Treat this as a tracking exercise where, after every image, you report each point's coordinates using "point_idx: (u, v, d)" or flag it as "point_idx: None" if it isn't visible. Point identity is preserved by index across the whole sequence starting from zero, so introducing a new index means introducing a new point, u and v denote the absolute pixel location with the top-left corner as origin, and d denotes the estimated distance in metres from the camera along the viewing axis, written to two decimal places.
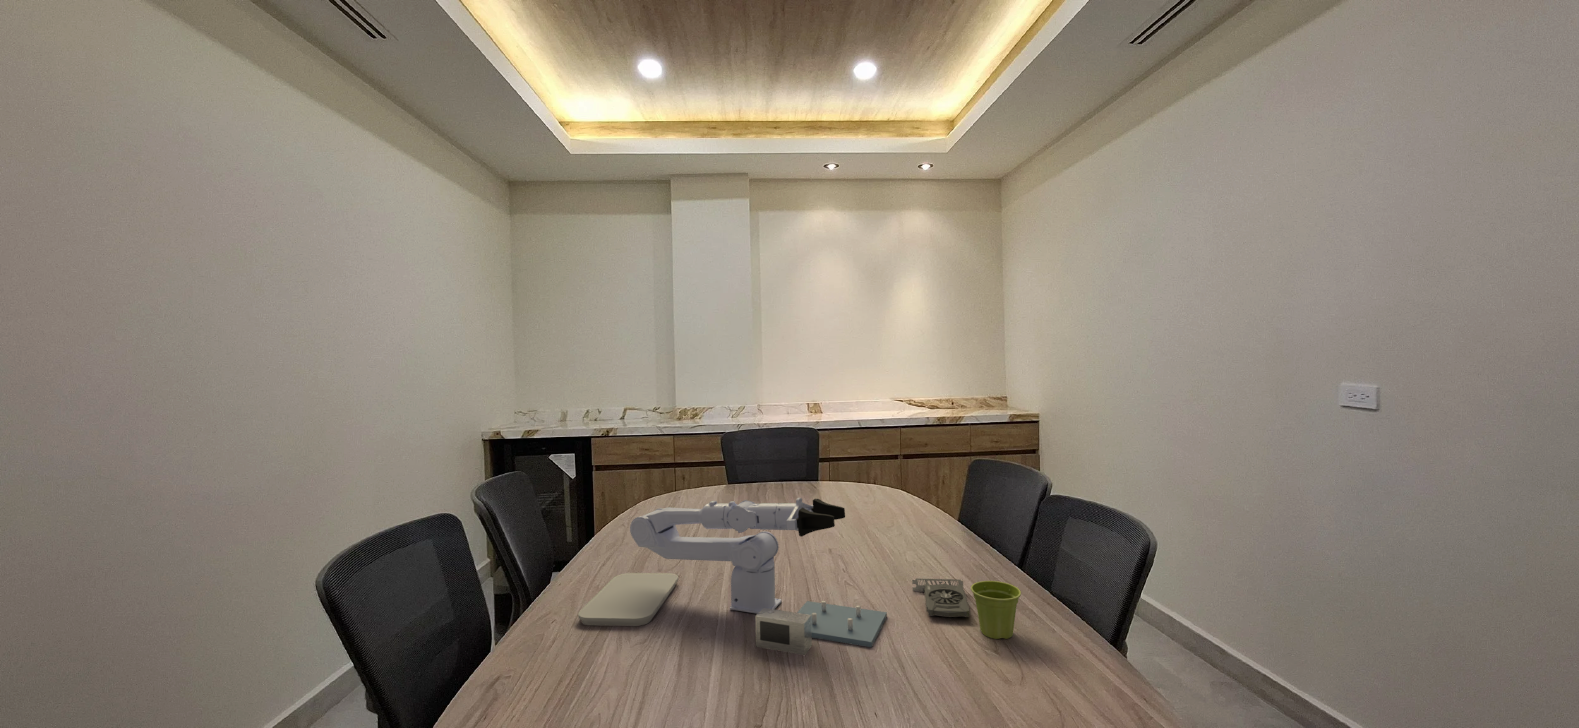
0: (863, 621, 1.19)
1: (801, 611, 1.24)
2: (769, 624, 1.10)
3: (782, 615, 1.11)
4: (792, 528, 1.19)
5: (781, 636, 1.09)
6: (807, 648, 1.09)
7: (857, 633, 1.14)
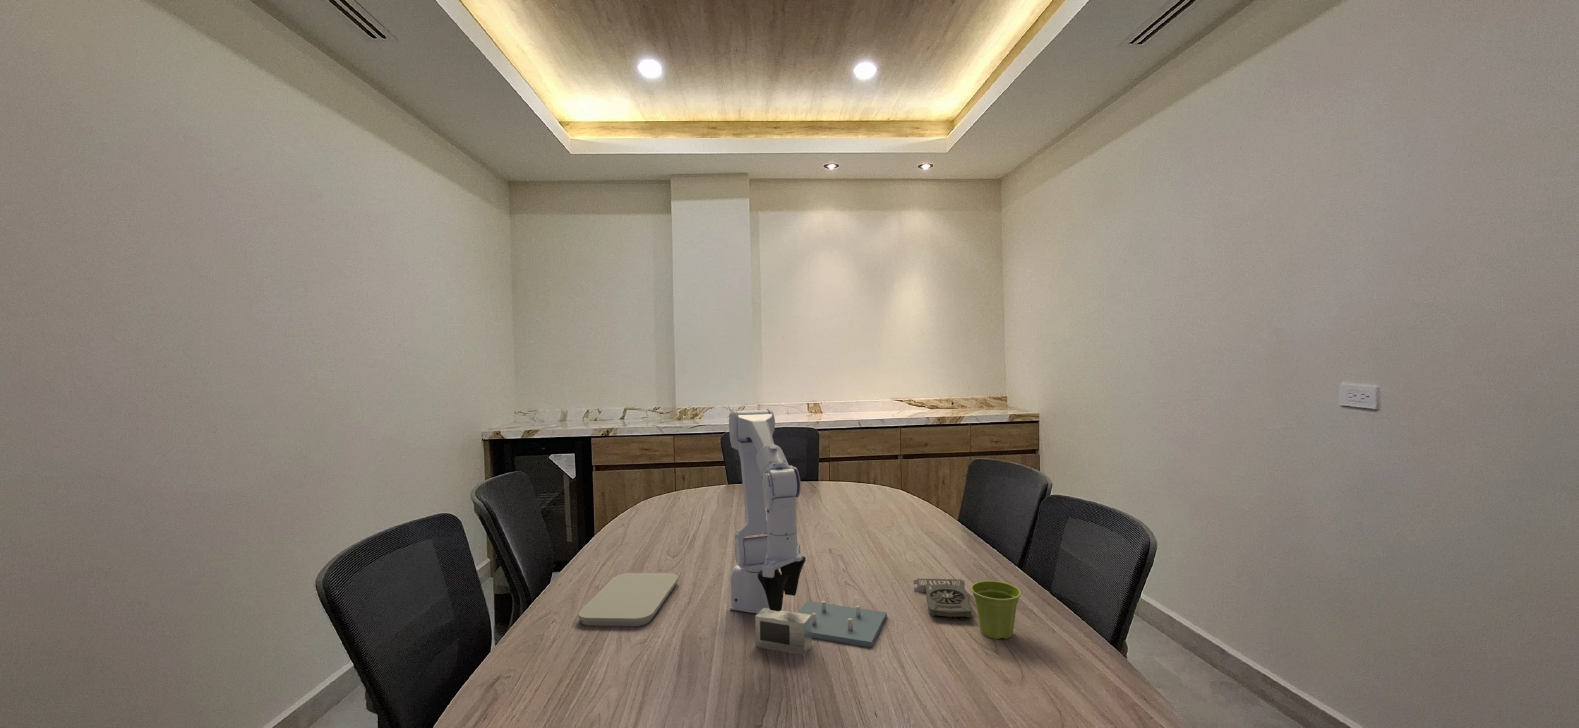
0: (863, 621, 1.19)
1: (801, 611, 1.24)
2: (769, 625, 1.10)
3: (782, 615, 1.11)
4: (764, 573, 1.05)
5: (781, 636, 1.09)
6: (807, 648, 1.09)
7: (857, 633, 1.14)
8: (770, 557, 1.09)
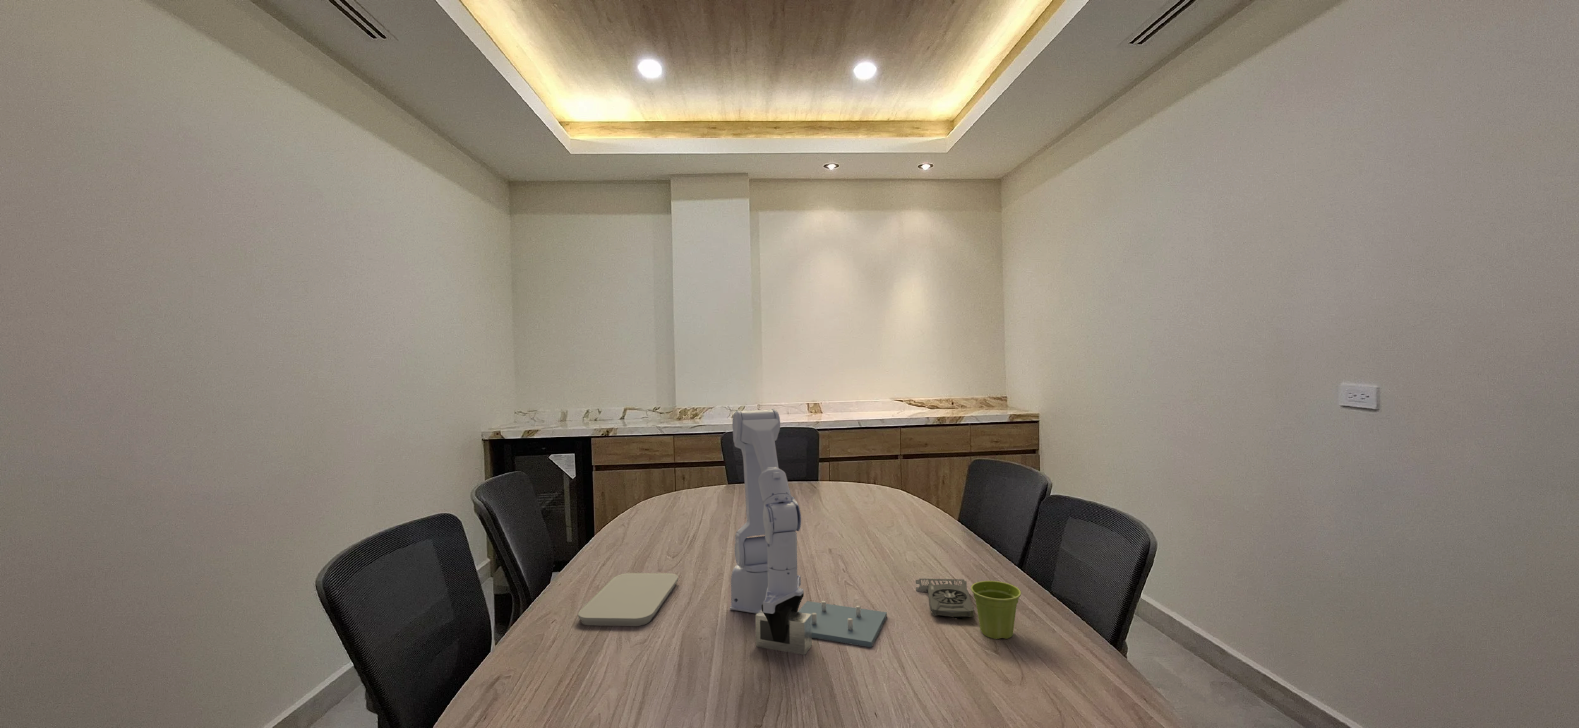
0: (863, 621, 1.19)
1: (801, 611, 1.24)
2: None
3: None
4: (764, 609, 1.05)
5: None
6: (807, 647, 1.09)
7: (857, 633, 1.14)
8: (771, 591, 1.09)
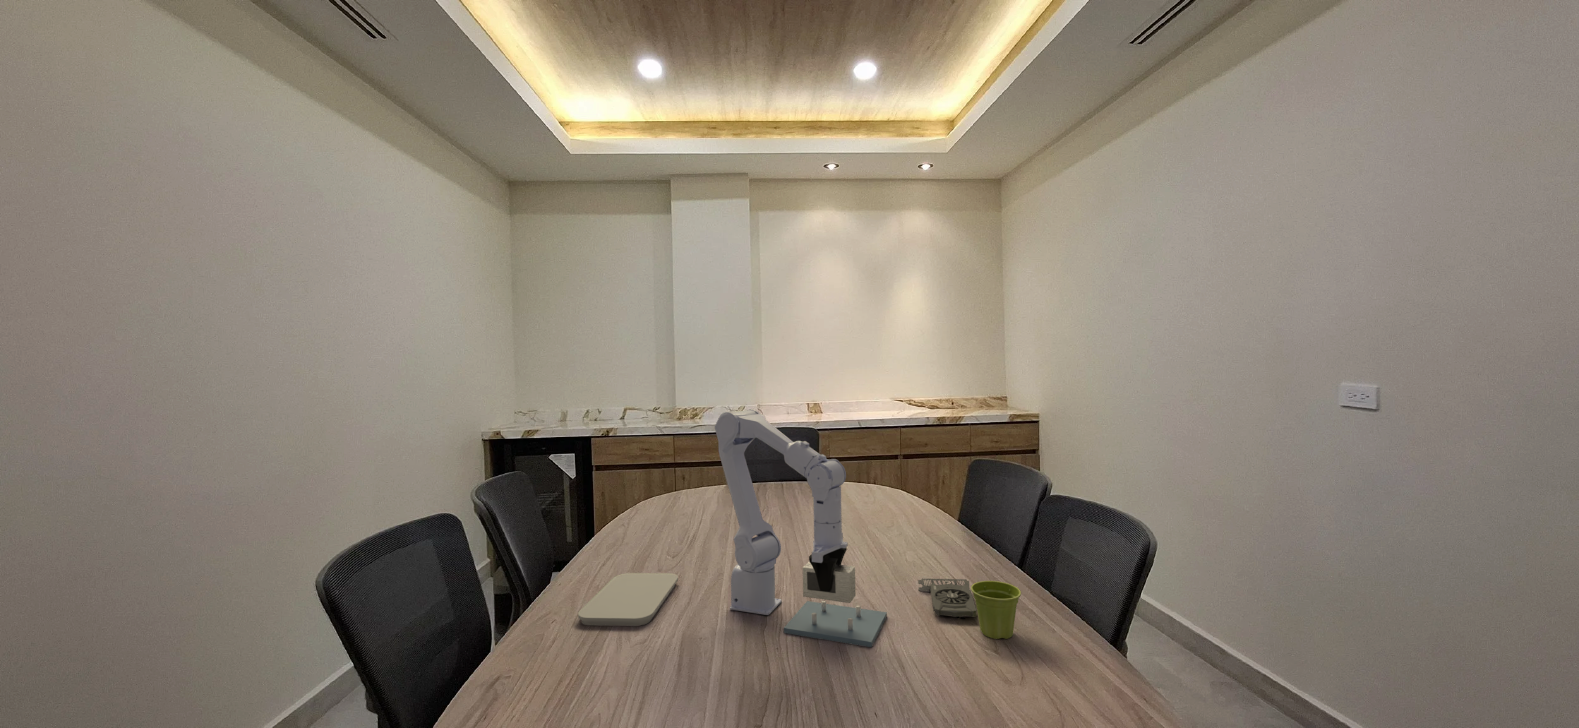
0: (863, 621, 1.19)
1: (801, 611, 1.24)
2: None
3: None
4: (813, 558, 1.12)
5: None
6: (852, 596, 1.16)
7: (857, 633, 1.14)
8: (817, 544, 1.17)
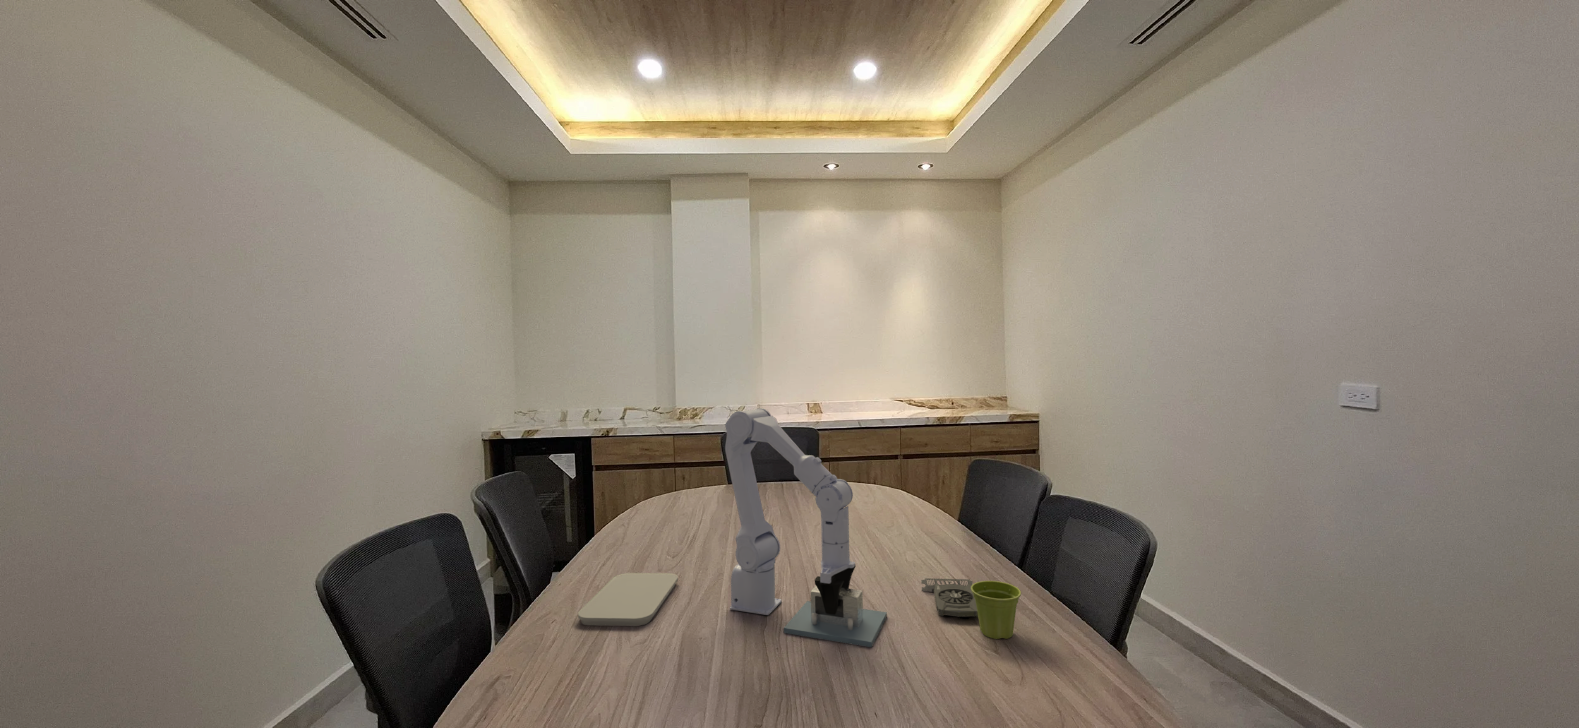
0: (863, 621, 1.19)
1: (801, 611, 1.24)
2: None
3: None
4: (821, 579, 1.13)
5: None
6: (859, 621, 1.18)
7: (857, 633, 1.14)
8: (825, 564, 1.18)
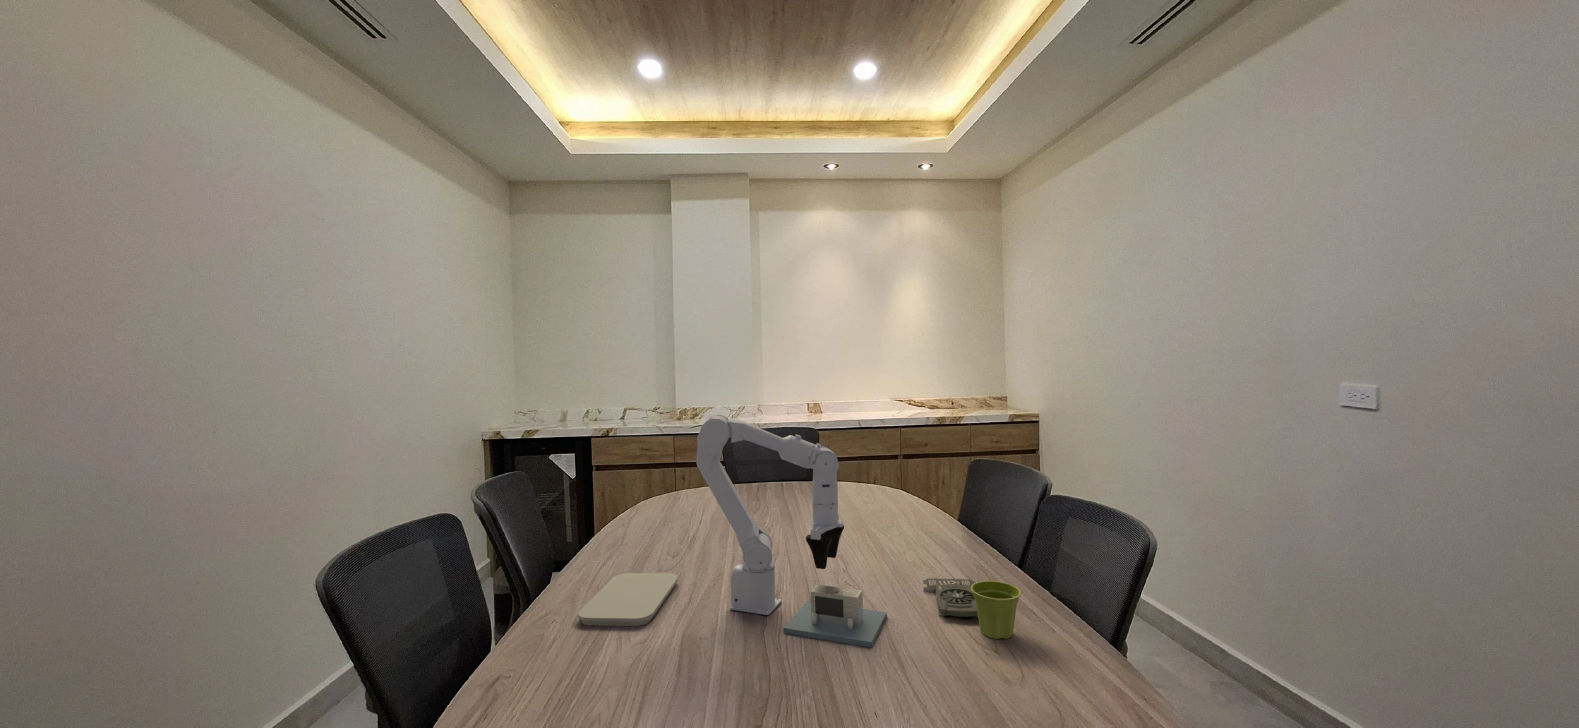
0: (863, 621, 1.19)
1: (801, 611, 1.24)
2: (823, 599, 1.19)
3: (835, 590, 1.20)
4: (812, 536, 1.23)
5: (835, 609, 1.18)
6: (859, 621, 1.18)
7: (857, 633, 1.14)
8: (815, 524, 1.28)
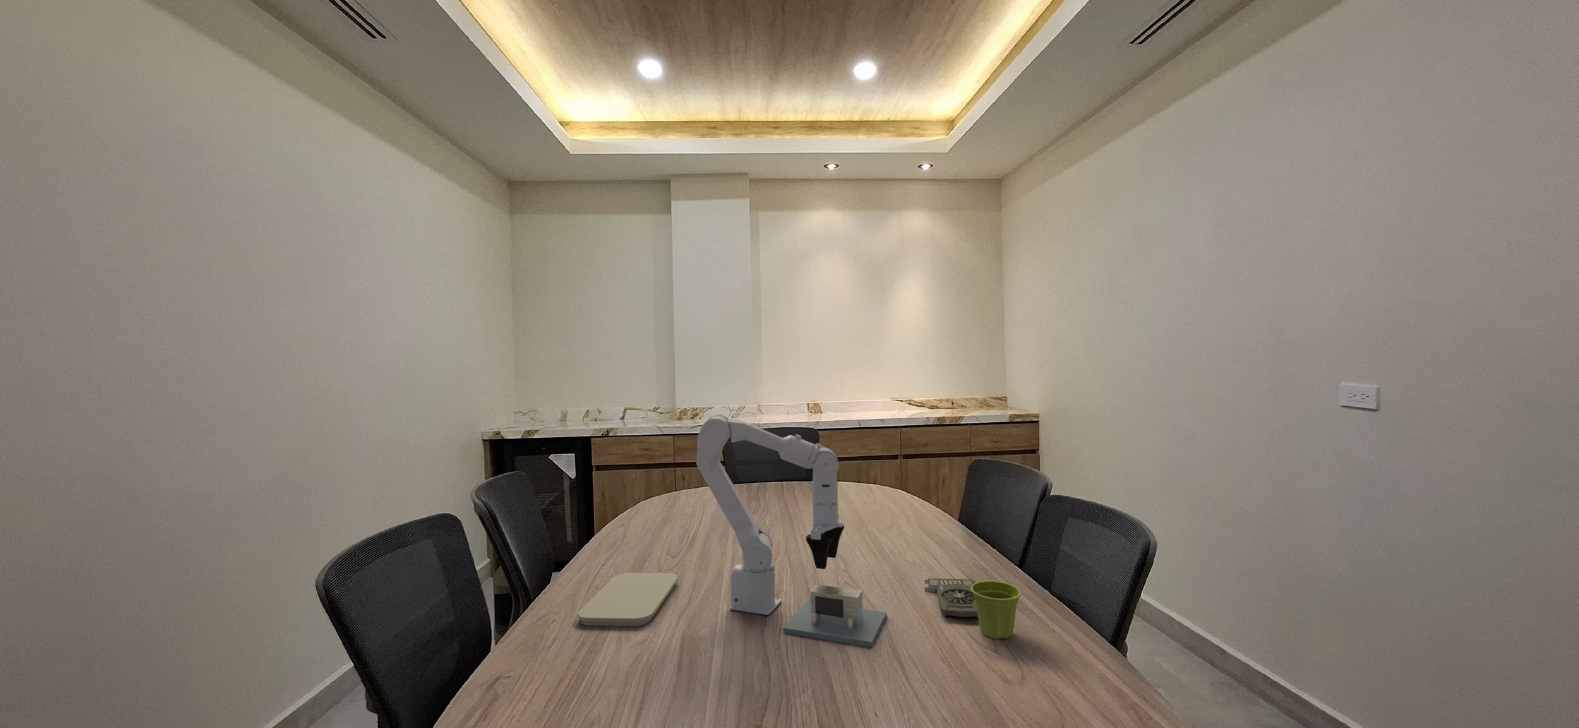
0: (863, 621, 1.19)
1: (801, 611, 1.24)
2: (823, 599, 1.19)
3: (835, 590, 1.20)
4: (812, 536, 1.23)
5: (835, 609, 1.18)
6: (859, 621, 1.18)
7: (857, 633, 1.14)
8: (815, 523, 1.28)
